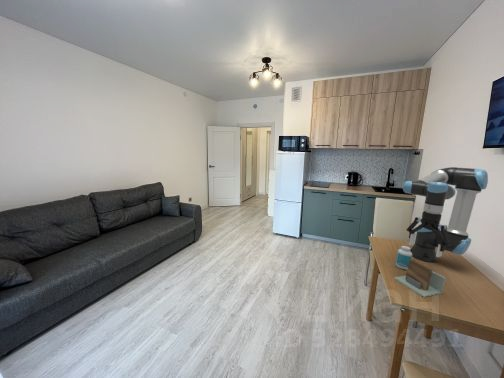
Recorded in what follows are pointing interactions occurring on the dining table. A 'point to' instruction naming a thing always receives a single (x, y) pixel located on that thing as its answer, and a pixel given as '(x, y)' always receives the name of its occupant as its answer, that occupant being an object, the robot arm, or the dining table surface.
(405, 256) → the pill bottle
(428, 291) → the pale green l-shaped piece
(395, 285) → the dining table surface
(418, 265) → the door panel
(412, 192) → the robot arm
